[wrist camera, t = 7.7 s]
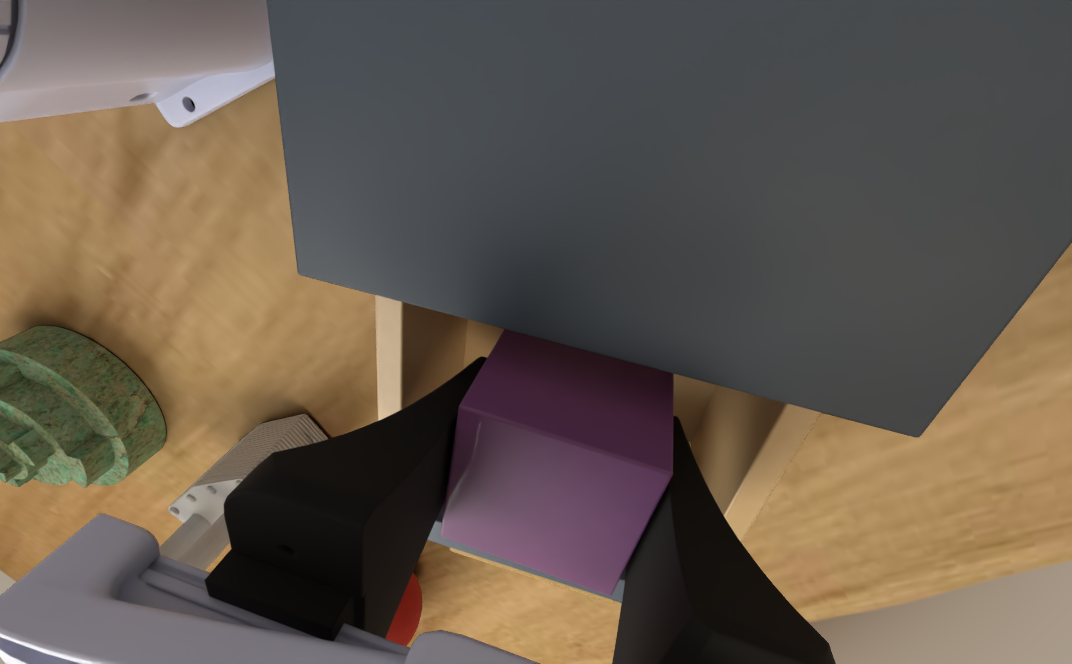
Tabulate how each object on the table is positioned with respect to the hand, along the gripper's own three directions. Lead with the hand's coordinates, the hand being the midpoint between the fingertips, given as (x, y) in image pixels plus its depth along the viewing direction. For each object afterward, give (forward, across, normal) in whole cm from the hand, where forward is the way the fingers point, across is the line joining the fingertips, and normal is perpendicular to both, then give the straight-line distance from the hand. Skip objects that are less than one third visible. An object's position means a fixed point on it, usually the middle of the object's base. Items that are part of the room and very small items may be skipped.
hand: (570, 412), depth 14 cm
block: (+1, 0, 0) cm, 1 cm away
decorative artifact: (+7, +28, +16) cm, 33 cm away
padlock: (+7, +15, +14) cm, 22 cm away
